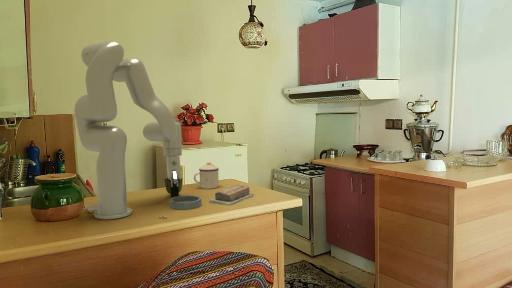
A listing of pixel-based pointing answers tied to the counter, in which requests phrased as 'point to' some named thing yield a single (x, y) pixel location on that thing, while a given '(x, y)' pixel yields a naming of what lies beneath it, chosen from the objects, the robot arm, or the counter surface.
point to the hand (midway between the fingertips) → (174, 194)
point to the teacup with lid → (208, 176)
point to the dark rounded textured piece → (168, 185)
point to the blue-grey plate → (185, 202)
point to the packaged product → (231, 195)
